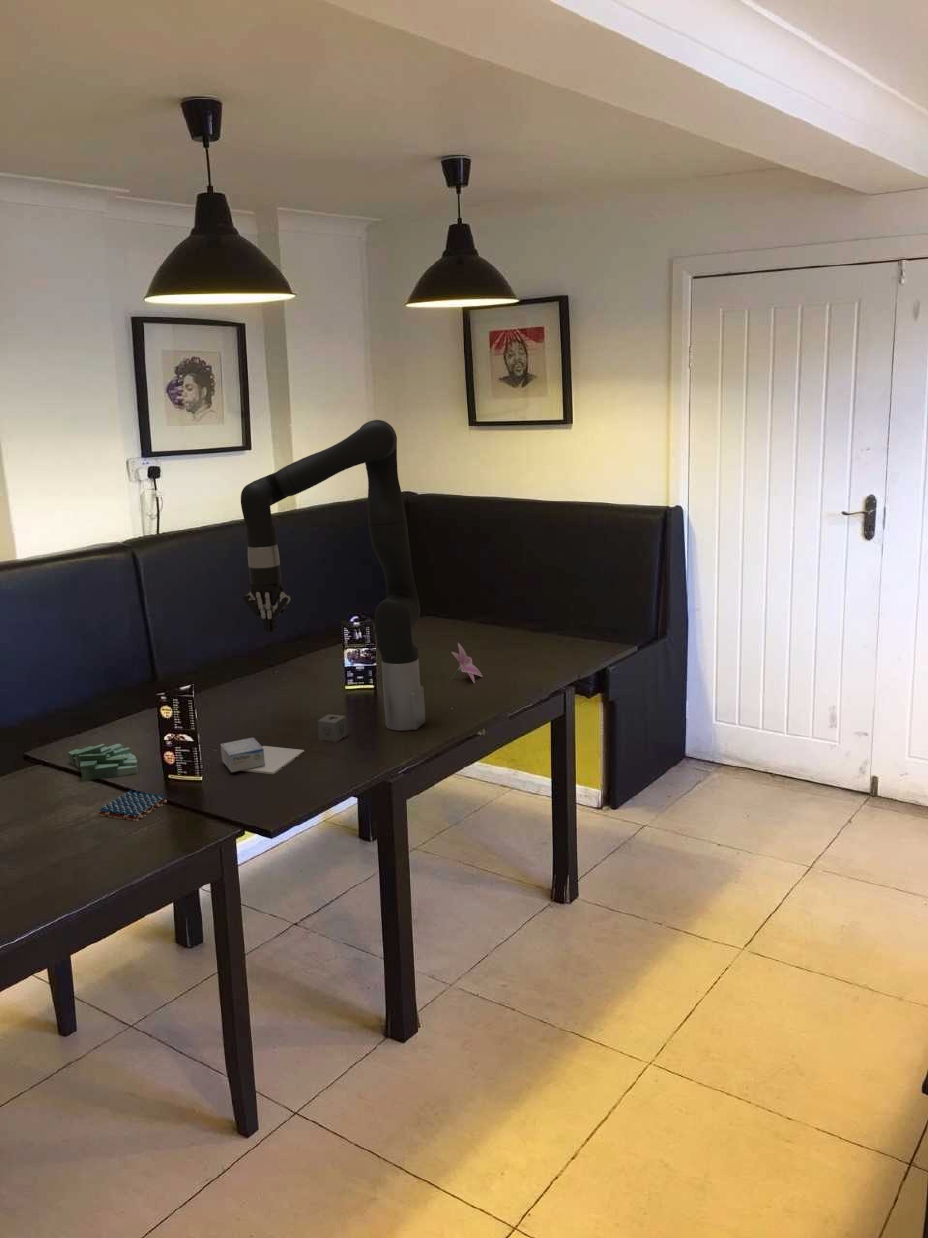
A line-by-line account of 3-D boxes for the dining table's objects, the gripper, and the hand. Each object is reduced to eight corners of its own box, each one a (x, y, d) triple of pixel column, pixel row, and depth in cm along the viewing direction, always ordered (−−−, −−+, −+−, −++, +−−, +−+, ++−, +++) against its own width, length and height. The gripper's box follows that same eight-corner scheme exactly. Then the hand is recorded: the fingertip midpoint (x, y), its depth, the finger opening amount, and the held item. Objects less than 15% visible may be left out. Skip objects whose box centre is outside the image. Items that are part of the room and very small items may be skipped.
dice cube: (347, 735, 254) (346, 716, 253) (336, 742, 250) (335, 722, 249) (330, 733, 256) (328, 714, 255) (319, 740, 252) (317, 720, 251)
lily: (456, 692, 287) (472, 663, 284) (429, 669, 293) (444, 641, 291) (481, 694, 296) (497, 666, 294) (455, 672, 303) (470, 644, 300)
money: (53, 770, 242) (50, 750, 240) (115, 748, 253) (113, 730, 252) (99, 789, 229) (96, 769, 228) (162, 766, 241) (160, 746, 239)
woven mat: (96, 818, 214) (94, 809, 214) (129, 798, 224) (128, 789, 223) (137, 824, 210) (136, 815, 210) (169, 803, 220) (168, 794, 219)
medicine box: (221, 761, 240) (231, 773, 232) (219, 743, 239) (229, 755, 231) (255, 754, 243) (265, 766, 235) (253, 736, 242) (263, 748, 234)
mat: (304, 752, 244) (304, 750, 244) (273, 774, 232) (273, 772, 232) (264, 747, 248) (263, 745, 248) (231, 769, 236) (231, 767, 236)
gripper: (295, 561, 252) (301, 630, 256) (249, 560, 257) (255, 627, 261) (280, 567, 245) (286, 638, 250) (232, 565, 250) (239, 635, 254)
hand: (270, 632), depth 255 cm, fingers closed
